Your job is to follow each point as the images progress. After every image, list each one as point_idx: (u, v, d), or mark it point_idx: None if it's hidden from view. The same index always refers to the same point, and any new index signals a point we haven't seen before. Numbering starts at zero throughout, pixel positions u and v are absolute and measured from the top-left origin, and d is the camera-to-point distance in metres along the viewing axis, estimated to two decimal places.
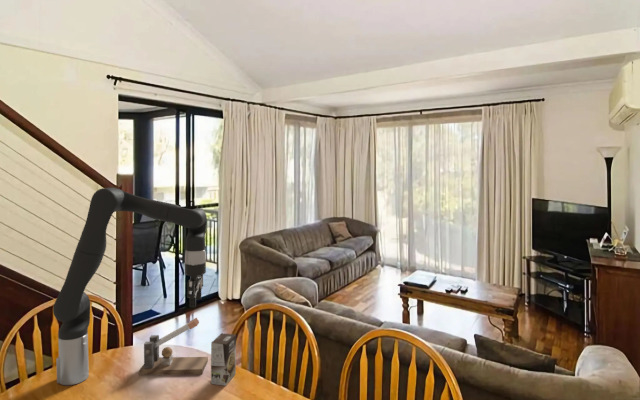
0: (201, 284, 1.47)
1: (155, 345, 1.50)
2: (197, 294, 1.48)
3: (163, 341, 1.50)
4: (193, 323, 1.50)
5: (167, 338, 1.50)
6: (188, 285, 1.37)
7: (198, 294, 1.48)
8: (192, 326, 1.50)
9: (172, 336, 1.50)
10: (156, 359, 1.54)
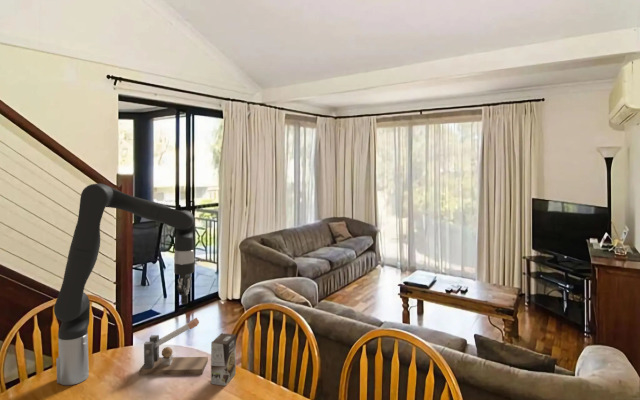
0: (189, 284, 1.51)
1: (155, 345, 1.50)
2: None
3: (163, 341, 1.50)
4: (193, 323, 1.50)
5: (167, 338, 1.50)
6: (178, 288, 1.45)
7: None
8: (192, 326, 1.50)
9: (172, 336, 1.50)
10: (156, 359, 1.54)
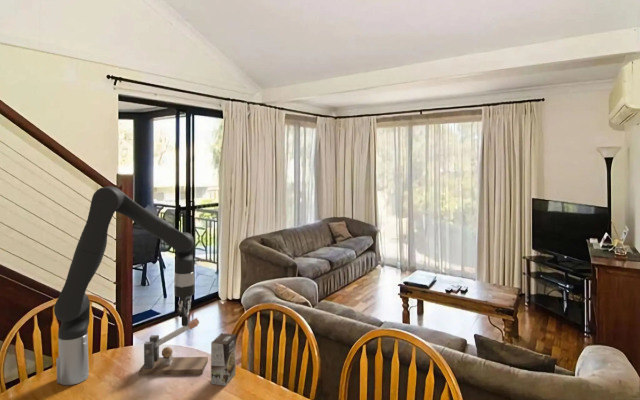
0: (189, 306, 1.52)
1: (155, 345, 1.50)
2: None
3: (163, 341, 1.50)
4: (193, 323, 1.50)
5: (167, 338, 1.50)
6: (178, 311, 1.46)
7: None
8: (192, 326, 1.50)
9: (172, 336, 1.50)
10: (156, 359, 1.54)
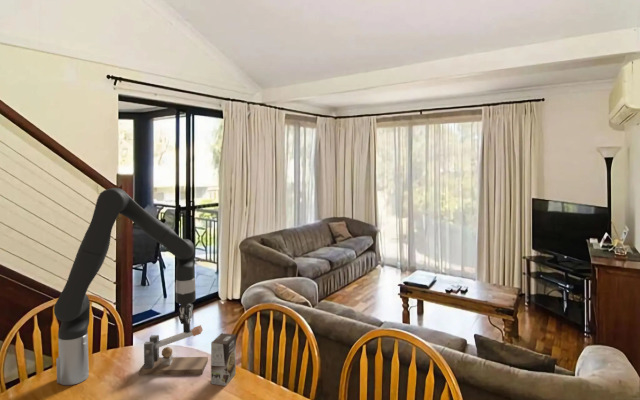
0: (190, 313, 1.52)
1: (155, 346, 1.50)
2: None
3: (164, 343, 1.50)
4: (197, 331, 1.50)
5: (169, 341, 1.50)
6: (180, 318, 1.46)
7: None
8: (195, 333, 1.51)
9: (174, 340, 1.50)
10: (156, 359, 1.54)
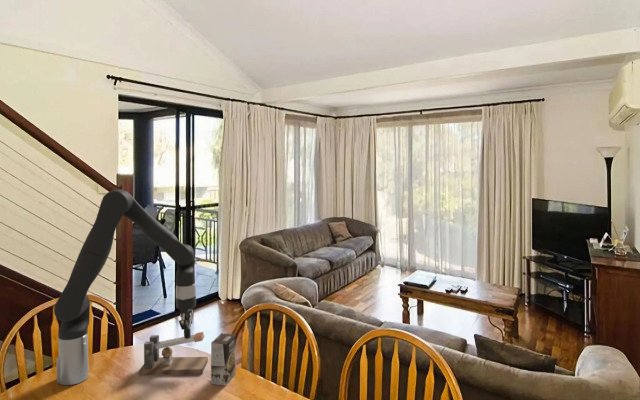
0: (191, 318, 1.52)
1: (156, 347, 1.50)
2: None
3: (165, 345, 1.50)
4: (199, 337, 1.51)
5: (169, 344, 1.50)
6: (180, 324, 1.46)
7: None
8: (197, 340, 1.51)
9: (175, 343, 1.51)
10: (156, 359, 1.54)
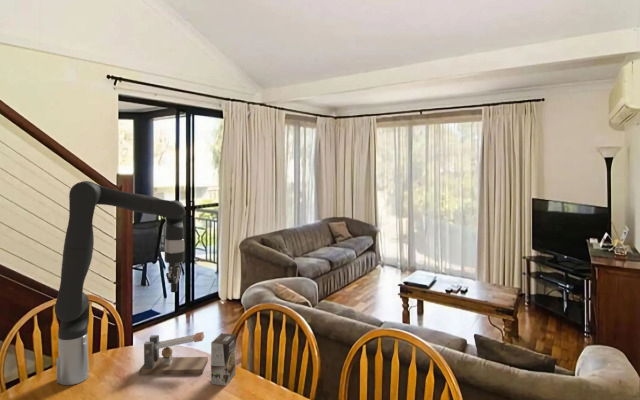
0: (178, 273, 1.54)
1: (156, 347, 1.50)
2: None
3: (165, 345, 1.50)
4: (199, 337, 1.51)
5: (169, 344, 1.50)
6: (167, 276, 1.48)
7: None
8: (197, 340, 1.51)
9: (175, 343, 1.51)
10: (156, 359, 1.54)
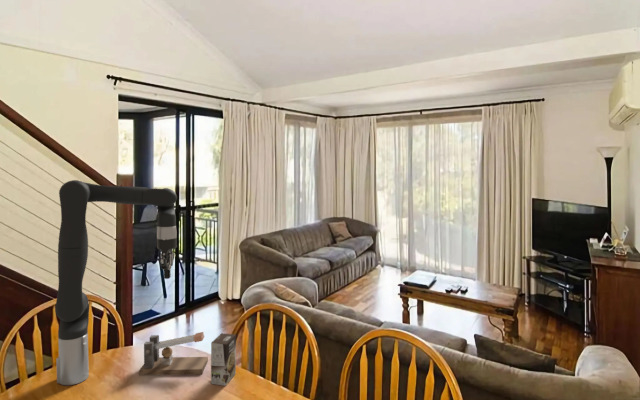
0: (171, 260, 1.57)
1: (156, 347, 1.50)
2: None
3: (165, 345, 1.50)
4: (199, 337, 1.51)
5: (169, 344, 1.50)
6: (160, 263, 1.51)
7: None
8: (197, 340, 1.51)
9: (175, 343, 1.51)
10: (156, 359, 1.54)
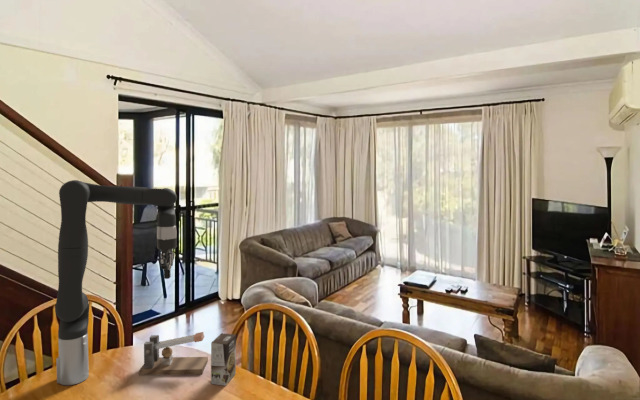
0: (171, 260, 1.57)
1: (156, 347, 1.50)
2: None
3: (165, 345, 1.50)
4: (199, 337, 1.51)
5: (169, 344, 1.50)
6: (160, 263, 1.51)
7: None
8: (197, 340, 1.51)
9: (175, 343, 1.51)
10: (156, 359, 1.54)
